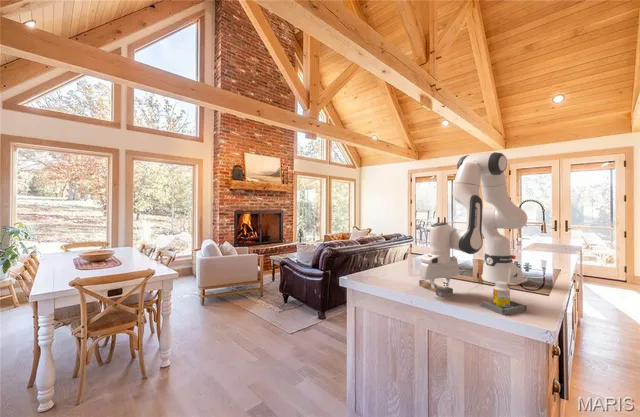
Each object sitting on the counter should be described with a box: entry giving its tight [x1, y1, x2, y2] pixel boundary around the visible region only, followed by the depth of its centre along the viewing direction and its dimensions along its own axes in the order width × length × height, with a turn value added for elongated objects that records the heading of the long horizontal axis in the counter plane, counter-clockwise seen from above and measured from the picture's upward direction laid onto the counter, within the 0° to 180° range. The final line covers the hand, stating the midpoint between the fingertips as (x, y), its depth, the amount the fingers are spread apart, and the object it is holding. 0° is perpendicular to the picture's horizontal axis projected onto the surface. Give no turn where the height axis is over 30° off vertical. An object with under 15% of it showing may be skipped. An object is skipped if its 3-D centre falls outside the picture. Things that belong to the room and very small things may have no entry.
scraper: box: [418, 279, 454, 298], centre depth 134 cm, size 17×7×3 cm, turn 20°
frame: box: [480, 299, 527, 316], centre depth 111 cm, size 12×10×2 cm
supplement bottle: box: [492, 281, 511, 309], centre depth 112 cm, size 6×6×10 cm
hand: (439, 286), depth 130 cm, fingers open, 6 cm apart
